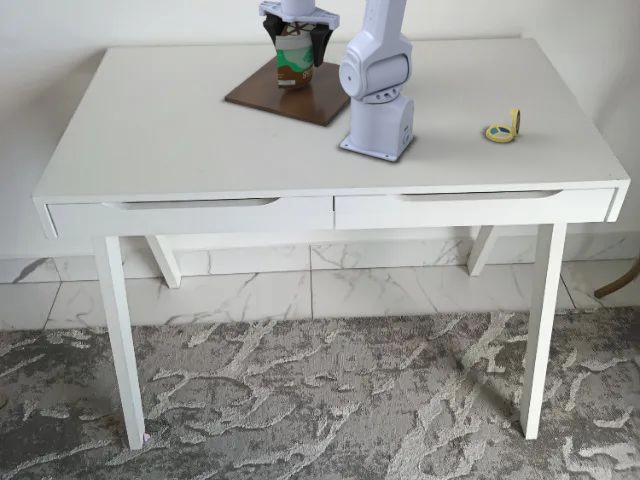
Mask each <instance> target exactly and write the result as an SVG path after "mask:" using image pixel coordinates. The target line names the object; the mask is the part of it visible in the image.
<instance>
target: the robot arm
mask: <svg viewBox="0 0 640 480" xmlns="http://www.w3.org/2000/svg"><path fill="white" fill-rule="evenodd" d="M407 2H408V0H365V5H364V12H363V18H362V19H363V20H362V27H361V29H360V31H359V32H358V33H357V34H356V35H355V36H354V37H353V38H352V39H351V40H350V41H349V42H348V43H347V45H346V46H345V53H344V56H343V58H342V59H341V61H340V62H339V65H340V68H339V78H340V82H341V85H342V87H343V89H344V90H345V92H346V93H347V94H348V95H349V96H350V97H351V100H350V124H349V125H350V126H349V129H350V131H349V134H348V135H347V136H346V137H345V139H343V141H342V142H341V143H340V144H339V145H340V148H341V149H344V150H348V151H352V152H355V153H359V154H363V155H366V156H370V157H374V158H378V159H382V160H384V161H385V160H386V161H389V162H396V161H397V160H398V159H399V157H400V156H401V155H402V154H403V152H404V151H405V150H406V148H407V147H408V146H409V144H410V142H412V141H413V139H414V135H413V134H412V133H413V125H414V115H415V114H414V113H415V101H414V99H412V98H411V97H408V96H406V95H404V94H403V93H401V92H403V90H404V84H406V83H408V82H409V81H410V79H411V77H412V73H413V61H412V51H413V47H414V46H413V44H412V42H411V40H410V39H409V38H408V36H406V35H405V34H404V33H403V32H402V27H403V23H404V17H405V11H406V6H407ZM258 16H261V17H265V19H264V20H263V21H262V27H263V28H264V30H265V31H266V32H267V34H268V35H269V38H270V39H271V42H272V44H273V47H274V48H275V45H276V36H280V35H281V34H282V31H283V29H284V27H285V25H286V24H287V23H288V22H290V23H292V22H294V21H299V22H304V23H309V24H315V25H316V27H315V28H313V29H312V30H311V31H310V36H311V40H312V45H313V62H314V67H319V66H320V65H321V64H322V63H323V61H324V59H325V54H326V51H327V47H328V44H329V42H330V39H331V37H332V35H333V33H334V31H336V29H338V28H339V27H340V26H341V25H340V23H341V22H340V21H341V20H340V17H341V16H340V14H338V13H334V12H332V11H328V10H325V9H323V8H320V7H319V6H316V0H280V1H269V0H264V1H262V2H260V3H258ZM275 53H277V50H276V49H275Z"/></svg>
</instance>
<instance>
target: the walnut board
mask: <svg viewBox="0 0 640 480" xmlns="http://www.w3.org/2000/svg"><path fill="white" fill-rule="evenodd" d="M339 68H340V64H337V63H333V62H328V61H325V60H323V63H322V64H321V65H320V66H319V67H314V63H313V73H312V80H311V81H310V82H309V83H308V84H306V85H304V86H302V87H298V88H292V89H280V88H278V71H277V54H276V55H275V56H274V57H272V58H271V59H270V60H268V62H266V63H265V64H264V65H262V66H261V67H260V68H259V69H258V70H255V72H254V73H252V74H251V75H249V77H248V78H246V79H245V80H243V82H241V83H240V84H239V85H237V86H236V87H235V88H234V89H232V90H231V91H229V92H228V93H227V94H226V95H225V96H224V101H225V102H228V103H233V104H236V105H240V106H244V107H248V108H252V109H256V110H260V111H264V112H267V113H271V114H276V115H280V116H284V117H288V118H291V119H295V120H299V121H302V122H307V123H311V124H314V125H319V126H323V127H326V126H328V124H330V122H331V121H332V120H333V119H334V118H335V117H336V116H337V115H338V114H339V113H340V112H341V111H342V109H344V108H345V106H347V104H349V103H350V102H351V97H350V96H349V95H348V94H347V93H346V92H345V90H344V89H343V87H342V85H341V82H340V78H339Z"/></svg>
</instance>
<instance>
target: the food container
mask: <svg viewBox="0 0 640 480" xmlns="http://www.w3.org/2000/svg"><path fill="white" fill-rule="evenodd" d="M315 27H316V25H315V24H309V23H304V22H299V21H294V22H292V23H290V22H288V23H287V24H286V25H285V27H284V29H283V31H282V34H281V35H280V36H276V45H275V47H274V50H275V51H276V50H277V52H276V55H277V71H278V88H280V89H292V88H298V87H302V86H304V85H306V84H308V83H309V82H310V81H311V80H312V73H313V63H314V62H313V45H312V40H311V36H310V31H311V30H312V29H313V28H315Z"/></svg>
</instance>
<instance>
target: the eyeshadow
mask: <svg viewBox="0 0 640 480" xmlns="http://www.w3.org/2000/svg"><path fill="white" fill-rule="evenodd" d="M510 116H511V118H512V119H511V120H512V121H511V127H510V126H509V125H505V124H491V125H490V126H489V127H488V129H486V131H485V136H486V137H487V139H489V140H491V141H493V142H496V143H508V142H510V141H512V140H513V139H514V137H518V135H519V133H520V127H521V126H520V125H521V109H520V108H517V107H515V108H511V109H510Z"/></svg>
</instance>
